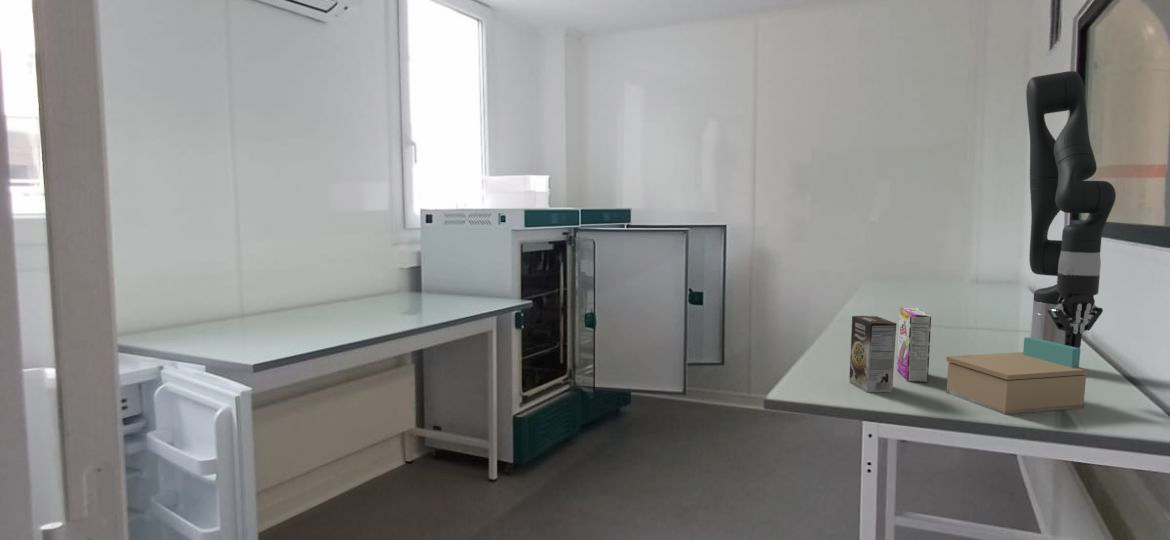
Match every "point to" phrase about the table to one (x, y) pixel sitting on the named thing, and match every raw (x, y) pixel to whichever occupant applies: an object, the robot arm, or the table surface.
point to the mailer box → (1016, 391)
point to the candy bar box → (913, 344)
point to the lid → (1027, 361)
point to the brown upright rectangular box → (872, 353)
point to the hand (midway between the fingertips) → (1072, 349)
